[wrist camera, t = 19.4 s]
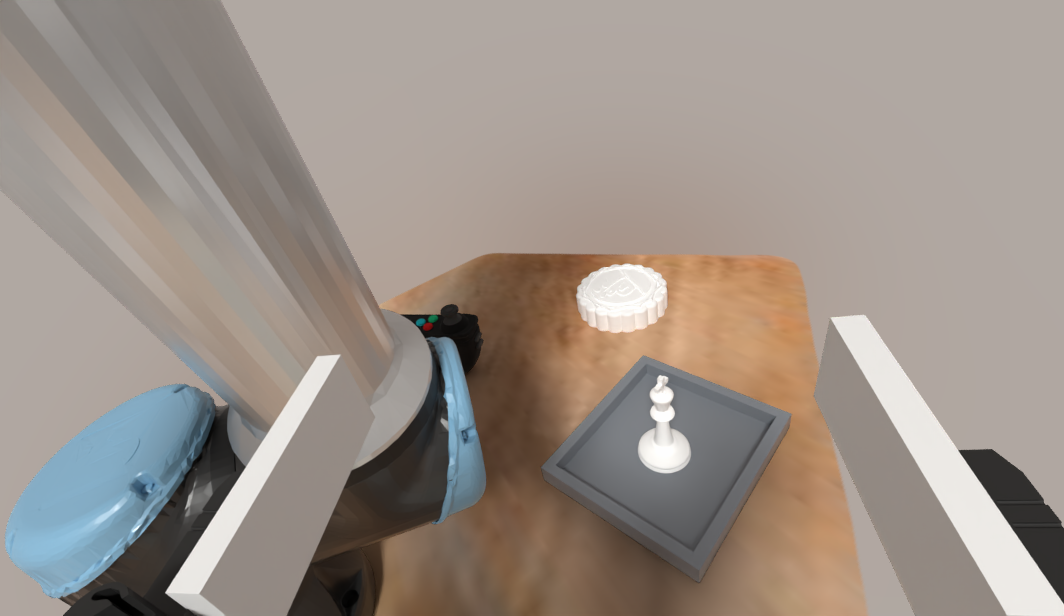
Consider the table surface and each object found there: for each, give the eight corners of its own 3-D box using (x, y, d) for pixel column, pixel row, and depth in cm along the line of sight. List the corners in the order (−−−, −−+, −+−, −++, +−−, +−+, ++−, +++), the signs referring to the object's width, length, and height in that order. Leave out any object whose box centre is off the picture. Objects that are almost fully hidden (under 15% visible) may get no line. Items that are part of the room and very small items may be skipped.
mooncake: (565, 298, 72) (562, 277, 70) (640, 271, 74) (639, 251, 72) (601, 346, 63) (598, 324, 61) (685, 314, 65) (685, 291, 63)
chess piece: (628, 458, 48) (620, 385, 42) (653, 423, 51) (649, 350, 45) (675, 482, 45) (673, 408, 39) (700, 444, 48) (701, 369, 42)
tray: (544, 479, 49) (540, 467, 47) (644, 367, 58) (643, 355, 57) (699, 583, 39) (699, 570, 38) (789, 427, 48) (791, 413, 47)
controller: (485, 385, 61) (463, 321, 55) (397, 379, 65) (368, 318, 59) (496, 361, 64) (477, 298, 58) (412, 356, 68) (386, 297, 62)
